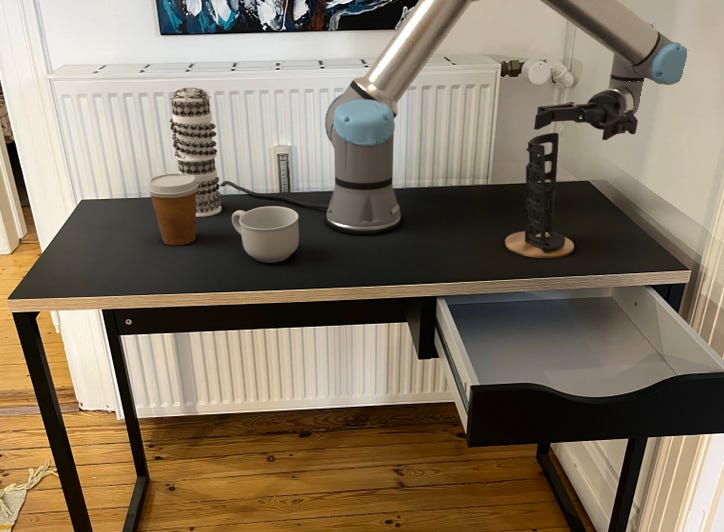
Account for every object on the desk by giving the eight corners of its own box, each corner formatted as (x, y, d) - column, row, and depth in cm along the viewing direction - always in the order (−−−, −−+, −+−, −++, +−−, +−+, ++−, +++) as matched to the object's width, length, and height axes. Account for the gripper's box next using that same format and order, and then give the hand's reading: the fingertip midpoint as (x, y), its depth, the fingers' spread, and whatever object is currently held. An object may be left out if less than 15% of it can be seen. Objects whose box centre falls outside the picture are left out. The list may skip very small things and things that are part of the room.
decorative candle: (171, 213, 164) (155, 91, 151) (198, 201, 171) (186, 84, 158) (204, 220, 160) (192, 96, 147) (231, 207, 167) (221, 88, 154)
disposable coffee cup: (213, 235, 152) (207, 175, 146) (184, 251, 145) (177, 189, 139) (174, 228, 156) (166, 170, 150) (144, 244, 148) (135, 183, 142)
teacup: (312, 256, 143) (310, 215, 139) (268, 273, 136) (265, 230, 132) (263, 237, 151) (260, 198, 147) (219, 253, 144) (215, 212, 140)
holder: (566, 254, 141) (569, 144, 132) (524, 254, 143) (525, 147, 133) (564, 233, 150) (567, 130, 141) (525, 234, 152) (525, 133, 143)
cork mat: (493, 248, 146) (493, 245, 146) (522, 228, 155) (522, 226, 155) (557, 263, 139) (558, 261, 139) (584, 242, 148) (584, 239, 148)
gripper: (665, 135, 155) (631, 157, 141) (550, 118, 168) (508, 137, 153) (673, 96, 152) (639, 115, 137) (555, 82, 164) (512, 98, 149)
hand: (570, 127), depth 145 cm, fingers open, 13 cm apart
